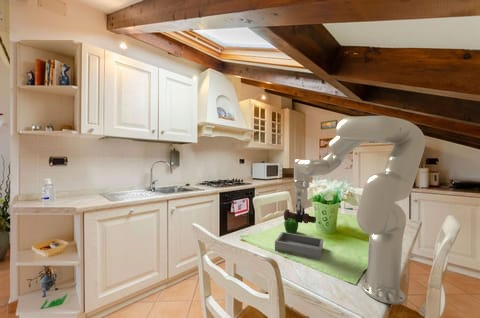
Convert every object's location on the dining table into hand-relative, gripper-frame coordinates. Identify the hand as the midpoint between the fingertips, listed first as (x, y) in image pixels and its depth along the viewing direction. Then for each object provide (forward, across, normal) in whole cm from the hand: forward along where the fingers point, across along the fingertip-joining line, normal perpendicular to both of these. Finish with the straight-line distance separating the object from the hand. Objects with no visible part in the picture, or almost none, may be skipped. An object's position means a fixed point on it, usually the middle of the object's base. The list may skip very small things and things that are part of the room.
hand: (300, 220), depth 109 cm
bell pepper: (+15, +20, +8) cm, 26 cm away
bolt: (+1, 0, 0) cm, 1 cm away
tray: (+14, 0, 0) cm, 14 cm away
